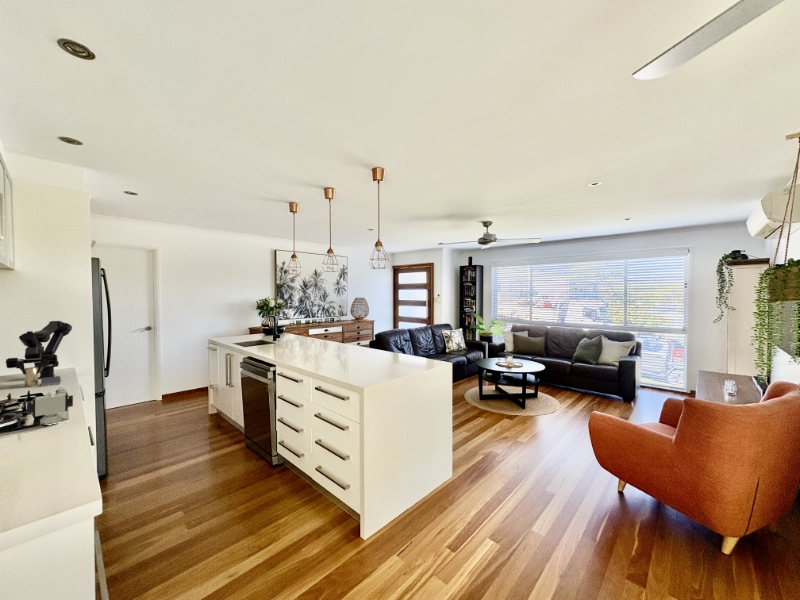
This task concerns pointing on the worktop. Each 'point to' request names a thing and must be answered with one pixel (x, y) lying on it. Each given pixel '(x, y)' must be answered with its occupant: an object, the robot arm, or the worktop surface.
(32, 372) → the ball
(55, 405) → the pneumatic valve
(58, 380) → the press bed
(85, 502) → the worktop surface
